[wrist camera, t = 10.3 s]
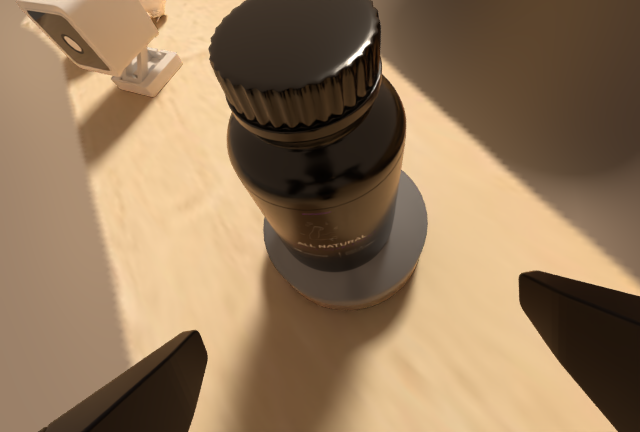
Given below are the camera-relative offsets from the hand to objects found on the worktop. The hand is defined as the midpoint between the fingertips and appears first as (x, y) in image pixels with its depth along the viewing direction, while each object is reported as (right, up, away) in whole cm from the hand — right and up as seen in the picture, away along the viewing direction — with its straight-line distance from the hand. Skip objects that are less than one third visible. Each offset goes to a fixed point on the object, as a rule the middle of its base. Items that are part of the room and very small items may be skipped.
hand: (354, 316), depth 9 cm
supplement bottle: (0, +2, +10) cm, 11 cm away
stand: (+1, +1, +13) cm, 13 cm away
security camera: (-20, +18, +25) cm, 37 cm away
